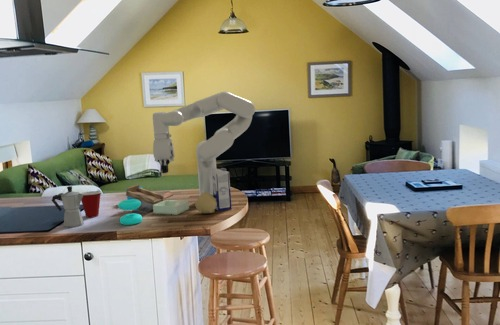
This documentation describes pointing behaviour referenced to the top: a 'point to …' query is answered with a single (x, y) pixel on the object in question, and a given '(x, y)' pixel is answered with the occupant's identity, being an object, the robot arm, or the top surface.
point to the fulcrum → (143, 208)
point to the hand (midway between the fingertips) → (165, 172)
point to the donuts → (133, 217)
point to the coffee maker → (70, 207)
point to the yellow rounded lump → (206, 203)
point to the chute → (146, 195)
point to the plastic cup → (91, 203)
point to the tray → (170, 207)
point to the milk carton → (221, 188)
